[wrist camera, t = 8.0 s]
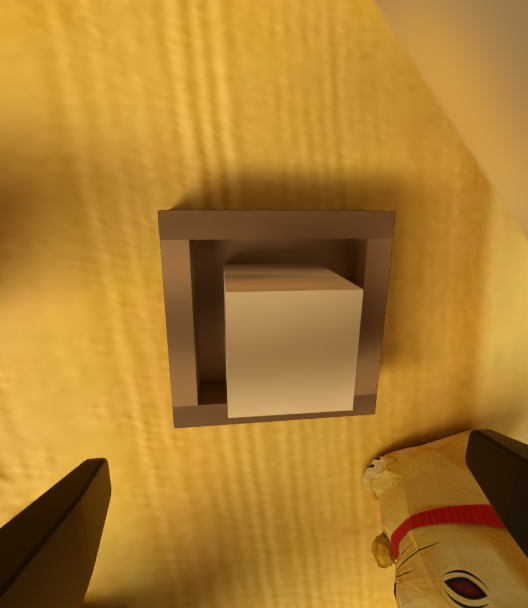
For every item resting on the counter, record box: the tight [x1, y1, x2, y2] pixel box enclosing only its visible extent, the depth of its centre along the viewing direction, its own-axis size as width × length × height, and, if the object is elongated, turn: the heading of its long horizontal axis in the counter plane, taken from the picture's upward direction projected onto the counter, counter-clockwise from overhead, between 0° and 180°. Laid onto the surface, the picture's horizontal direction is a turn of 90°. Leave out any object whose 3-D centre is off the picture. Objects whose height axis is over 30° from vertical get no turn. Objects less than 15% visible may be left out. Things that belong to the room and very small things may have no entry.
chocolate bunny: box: [361, 429, 528, 608], centre depth 17 cm, size 7×11×15 cm, turn 100°
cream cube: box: [224, 264, 363, 418], centre depth 16 cm, size 5×5×6 cm
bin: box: [158, 210, 396, 428], centre depth 18 cm, size 10×10×4 cm
